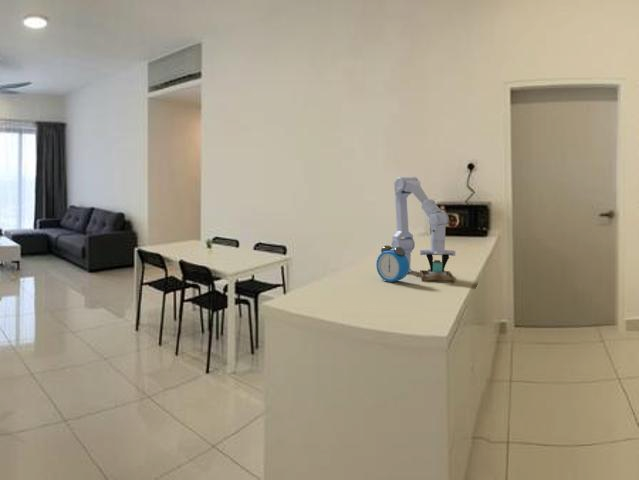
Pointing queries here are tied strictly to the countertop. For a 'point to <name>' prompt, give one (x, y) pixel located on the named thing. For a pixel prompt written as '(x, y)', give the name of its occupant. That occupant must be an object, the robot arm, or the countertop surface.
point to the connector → (437, 266)
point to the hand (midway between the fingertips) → (436, 271)
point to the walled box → (436, 276)
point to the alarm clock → (392, 264)
